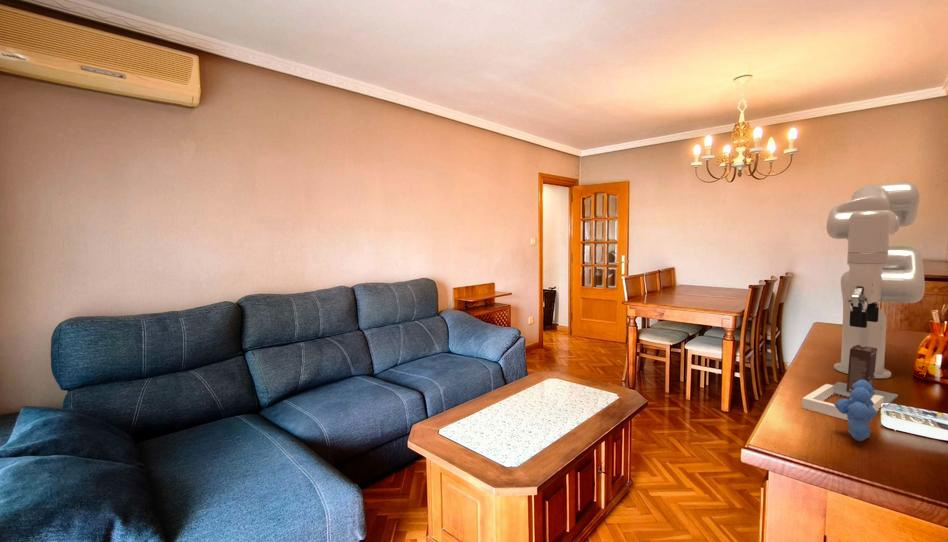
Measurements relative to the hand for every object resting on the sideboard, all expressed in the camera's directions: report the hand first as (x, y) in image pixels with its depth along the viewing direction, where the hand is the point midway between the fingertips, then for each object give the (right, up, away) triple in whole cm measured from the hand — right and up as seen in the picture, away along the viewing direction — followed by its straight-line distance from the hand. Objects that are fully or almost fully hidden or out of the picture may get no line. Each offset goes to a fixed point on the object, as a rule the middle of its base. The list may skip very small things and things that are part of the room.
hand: (863, 323), depth 106 cm
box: (0, -19, +1) cm, 19 cm away
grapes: (-22, -21, -21) cm, 37 cm away
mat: (0, -19, +1) cm, 19 cm away
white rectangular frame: (-11, -20, -6) cm, 23 cm away
